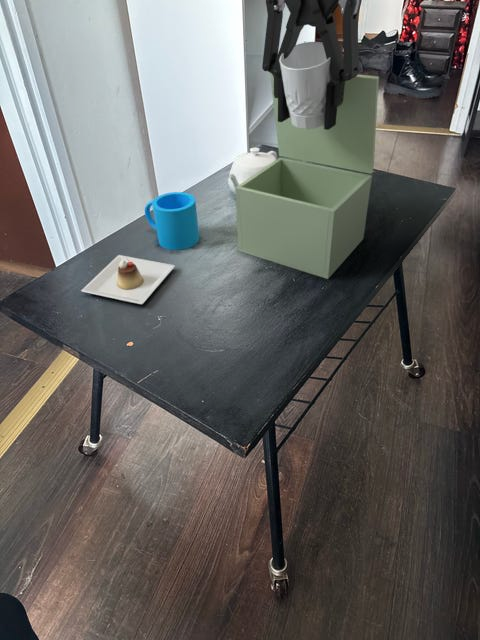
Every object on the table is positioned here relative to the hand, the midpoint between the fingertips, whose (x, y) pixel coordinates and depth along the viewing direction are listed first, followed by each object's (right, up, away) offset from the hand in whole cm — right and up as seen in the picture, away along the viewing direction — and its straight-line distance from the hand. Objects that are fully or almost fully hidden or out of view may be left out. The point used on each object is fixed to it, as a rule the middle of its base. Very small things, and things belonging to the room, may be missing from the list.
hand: (306, 122), depth 76 cm
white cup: (+1, +1, +1) cm, 2 cm away
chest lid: (+3, +2, +4) cm, 6 cm away
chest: (+1, -17, +14) cm, 23 cm away
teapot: (-7, -3, +33) cm, 34 cm away
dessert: (-30, -25, +7) cm, 40 cm away
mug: (-24, -15, +19) cm, 34 cm away
